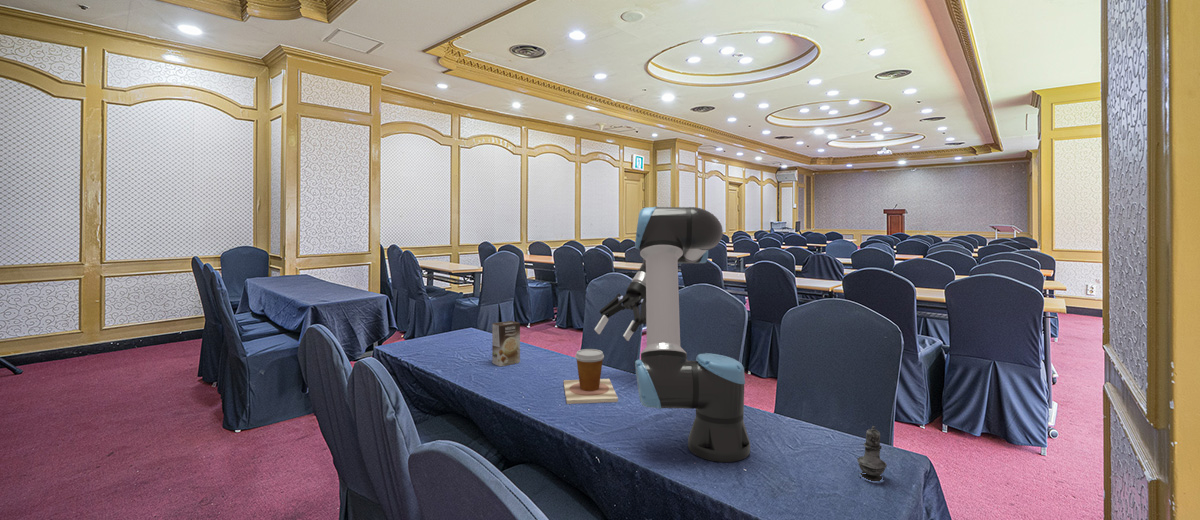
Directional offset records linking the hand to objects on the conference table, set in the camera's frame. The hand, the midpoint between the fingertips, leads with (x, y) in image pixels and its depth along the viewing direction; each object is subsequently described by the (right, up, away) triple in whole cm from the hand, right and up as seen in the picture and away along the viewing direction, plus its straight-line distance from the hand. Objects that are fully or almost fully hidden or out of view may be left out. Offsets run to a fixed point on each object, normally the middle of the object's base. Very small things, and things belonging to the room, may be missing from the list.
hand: (610, 335), depth 182 cm
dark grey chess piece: (+57, -23, -62) cm, 88 cm away
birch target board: (-7, -18, -6) cm, 20 cm away
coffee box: (-41, -15, +29) cm, 52 cm away
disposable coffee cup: (-7, -17, -6) cm, 19 cm away
